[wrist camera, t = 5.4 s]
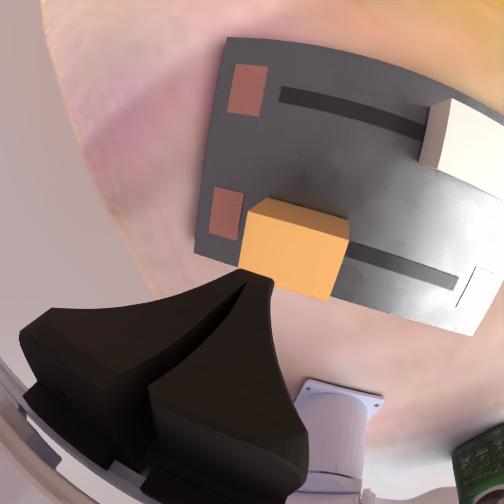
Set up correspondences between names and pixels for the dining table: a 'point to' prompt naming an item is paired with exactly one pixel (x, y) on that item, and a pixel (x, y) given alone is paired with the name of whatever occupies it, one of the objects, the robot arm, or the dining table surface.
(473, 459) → the coffee jar
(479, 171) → the switch
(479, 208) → the breaker panel
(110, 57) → the dining table surface
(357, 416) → the robot arm
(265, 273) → the plain orange cube
